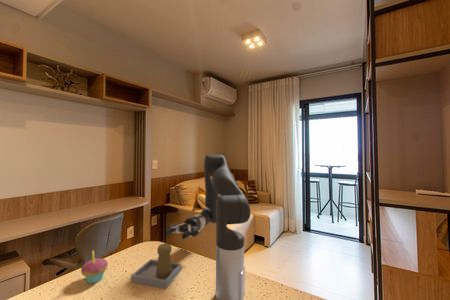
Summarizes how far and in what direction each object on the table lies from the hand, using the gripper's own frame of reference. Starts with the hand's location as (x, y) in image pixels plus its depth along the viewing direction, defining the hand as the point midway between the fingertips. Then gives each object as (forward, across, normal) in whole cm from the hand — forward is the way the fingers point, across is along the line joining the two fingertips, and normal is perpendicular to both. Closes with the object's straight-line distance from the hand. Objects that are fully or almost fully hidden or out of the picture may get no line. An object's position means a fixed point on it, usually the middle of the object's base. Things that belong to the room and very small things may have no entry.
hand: (174, 234), depth 91 cm
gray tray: (+10, 0, +12) cm, 16 cm away
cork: (+9, +2, +11) cm, 15 cm away
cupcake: (+21, -20, +12) cm, 32 cm away
